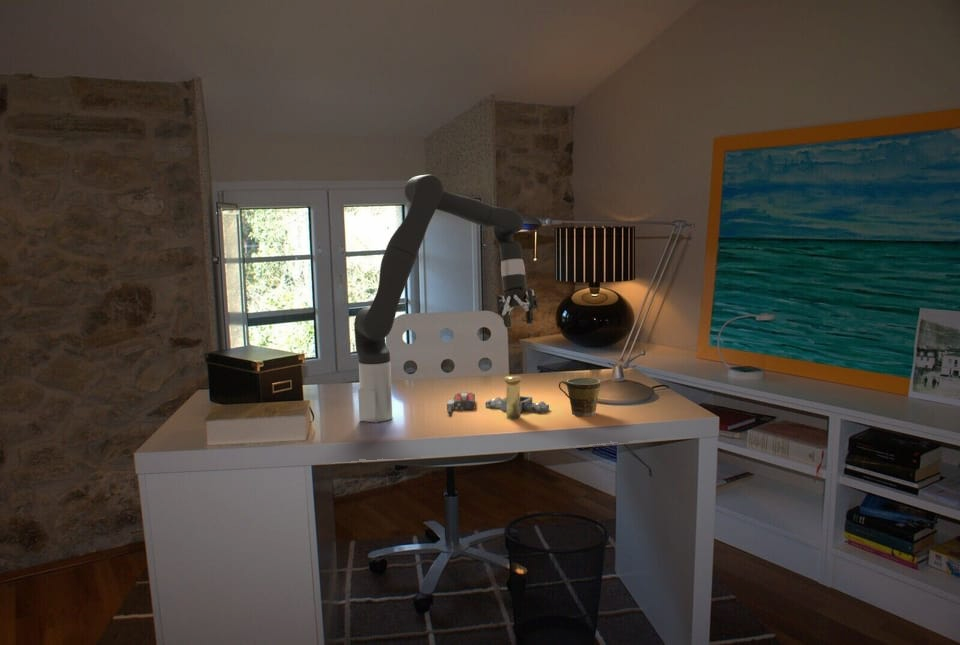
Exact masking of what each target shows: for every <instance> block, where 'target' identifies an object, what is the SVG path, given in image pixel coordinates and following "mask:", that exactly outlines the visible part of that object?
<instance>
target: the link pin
mask: <svg viewBox="0 0 960 645" xmlns="http://www.w3.org/2000/svg"><path fill="white" fill-rule="evenodd" d="M504 382H505V394H506V397H505V398H506V404H507V411H506V418H507V419H508V420H518V419H520V418H521V412H520V396H521V390H520V389H521V388H520V387H521V383H520V382H522V376H519V375H509V376H508V375H507V376H504Z"/></svg>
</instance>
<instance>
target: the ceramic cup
mask: <svg viewBox="0 0 960 645" xmlns="http://www.w3.org/2000/svg"><path fill="white" fill-rule="evenodd" d="M561 384H564V385H565V386H566V387H567V392H566V391H565V390H564V389H562V386H561ZM558 388H559V390H560V391H561V392H562V393H563V394H565V396H566V397H567V398H568V399H569V404H570V407H571V414H572V415H574V416H576V417H585V418H586V417H592V416H594V415H596V411H597V406H598V400H599V399H598V398H599V394H600V389H601V380H600V379H598V378H593V377H573V378H569V379H567V380H566V381H565V380H562V381H560V382H559V383H558Z"/></svg>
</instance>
